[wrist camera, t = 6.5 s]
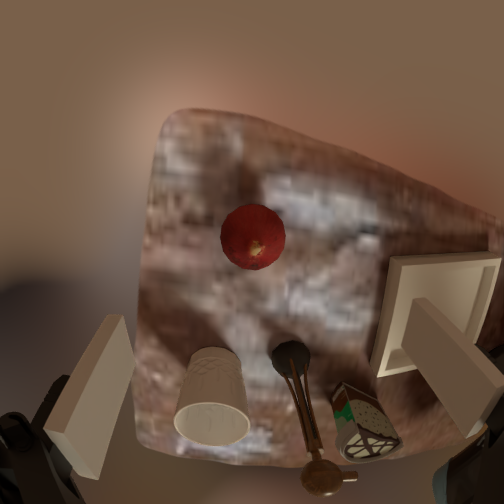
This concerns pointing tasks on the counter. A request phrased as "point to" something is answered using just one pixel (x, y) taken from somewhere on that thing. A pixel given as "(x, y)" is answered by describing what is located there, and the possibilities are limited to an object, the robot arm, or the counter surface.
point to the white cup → (213, 399)
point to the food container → (362, 426)
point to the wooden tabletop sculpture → (308, 422)
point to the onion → (252, 236)
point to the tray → (432, 299)
